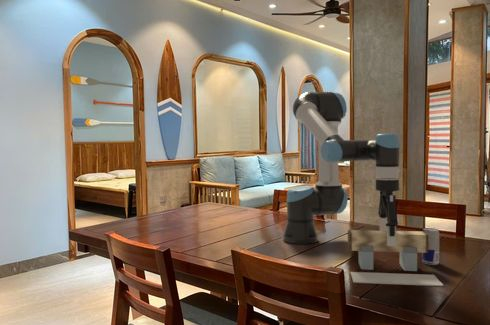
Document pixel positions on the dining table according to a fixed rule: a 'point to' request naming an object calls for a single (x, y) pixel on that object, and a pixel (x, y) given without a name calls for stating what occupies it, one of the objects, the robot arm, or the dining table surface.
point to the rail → (380, 240)
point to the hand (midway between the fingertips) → (387, 240)
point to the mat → (395, 278)
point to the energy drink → (432, 247)
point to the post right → (408, 259)
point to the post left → (366, 257)
